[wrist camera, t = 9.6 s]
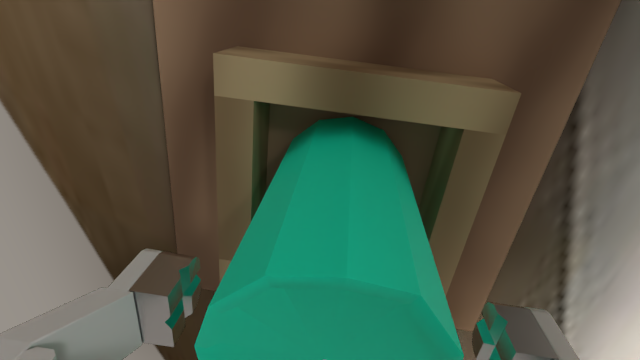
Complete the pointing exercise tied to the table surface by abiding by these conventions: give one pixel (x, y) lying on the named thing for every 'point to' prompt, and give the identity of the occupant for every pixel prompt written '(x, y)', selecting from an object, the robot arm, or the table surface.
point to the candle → (333, 261)
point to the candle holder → (374, 111)
